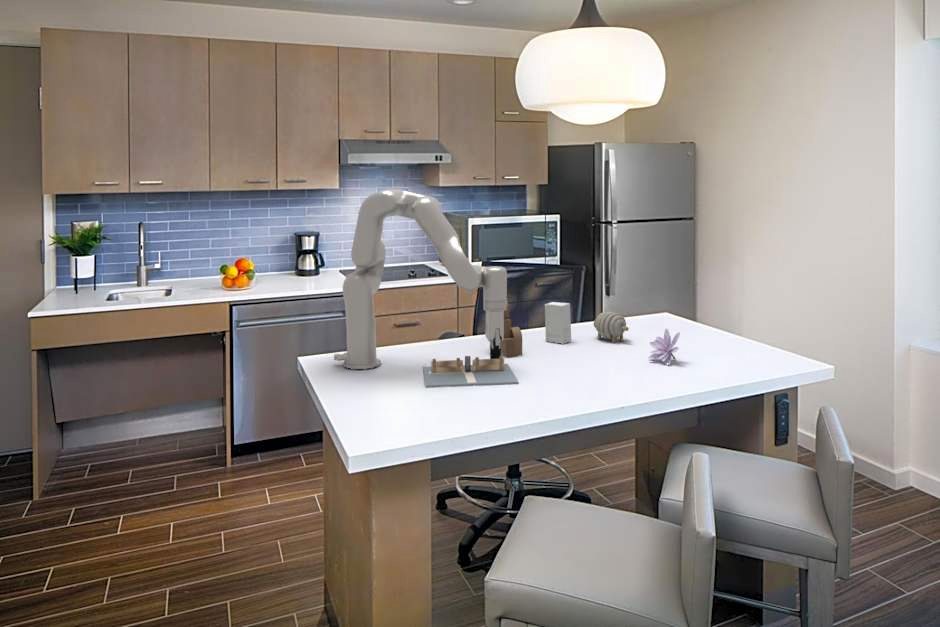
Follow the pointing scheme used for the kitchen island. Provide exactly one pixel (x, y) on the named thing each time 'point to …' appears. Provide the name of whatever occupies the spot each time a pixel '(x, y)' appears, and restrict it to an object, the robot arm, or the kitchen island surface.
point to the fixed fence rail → (447, 365)
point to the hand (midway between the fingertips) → (495, 360)
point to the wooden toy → (510, 338)
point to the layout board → (469, 377)
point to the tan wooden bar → (488, 364)
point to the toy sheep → (610, 325)
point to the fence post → (467, 363)
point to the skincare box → (558, 322)
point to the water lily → (664, 347)
